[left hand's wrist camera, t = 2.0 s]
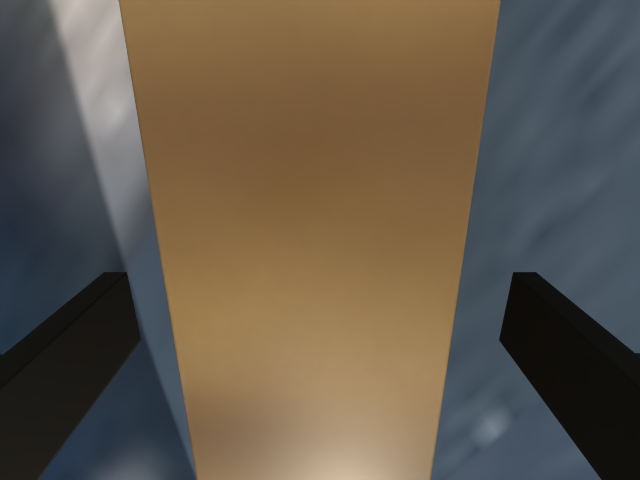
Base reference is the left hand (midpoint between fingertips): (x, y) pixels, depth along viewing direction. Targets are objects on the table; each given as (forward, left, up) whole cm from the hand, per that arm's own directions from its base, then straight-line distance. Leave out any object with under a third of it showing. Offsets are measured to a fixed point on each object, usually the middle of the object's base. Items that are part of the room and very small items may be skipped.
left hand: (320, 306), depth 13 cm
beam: (+16, +12, -4) cm, 20 cm away
